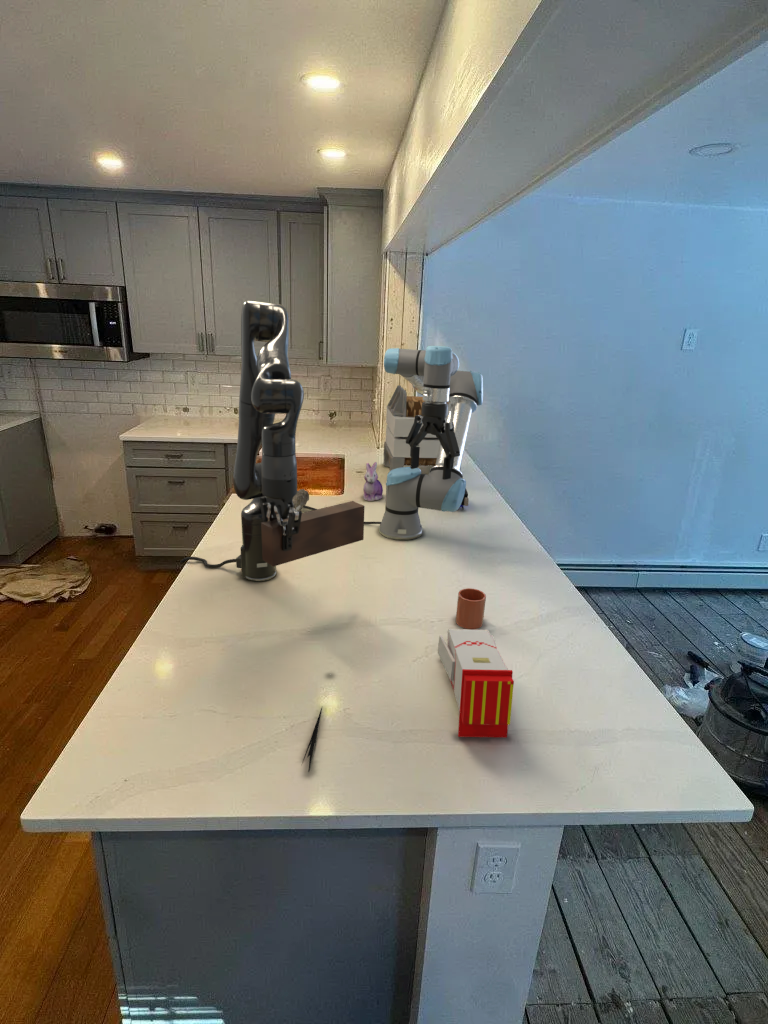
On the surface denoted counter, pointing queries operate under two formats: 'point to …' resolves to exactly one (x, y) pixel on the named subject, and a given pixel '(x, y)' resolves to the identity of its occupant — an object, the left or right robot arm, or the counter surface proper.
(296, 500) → the fossil
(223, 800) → the counter surface
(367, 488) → the figurine
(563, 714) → the counter surface
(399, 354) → the right robot arm
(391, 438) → the light grey boxy piece
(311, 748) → the feather
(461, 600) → the terracotta cup
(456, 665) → the toy
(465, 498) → the figurine character
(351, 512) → the walnut box
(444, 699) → the counter surface
